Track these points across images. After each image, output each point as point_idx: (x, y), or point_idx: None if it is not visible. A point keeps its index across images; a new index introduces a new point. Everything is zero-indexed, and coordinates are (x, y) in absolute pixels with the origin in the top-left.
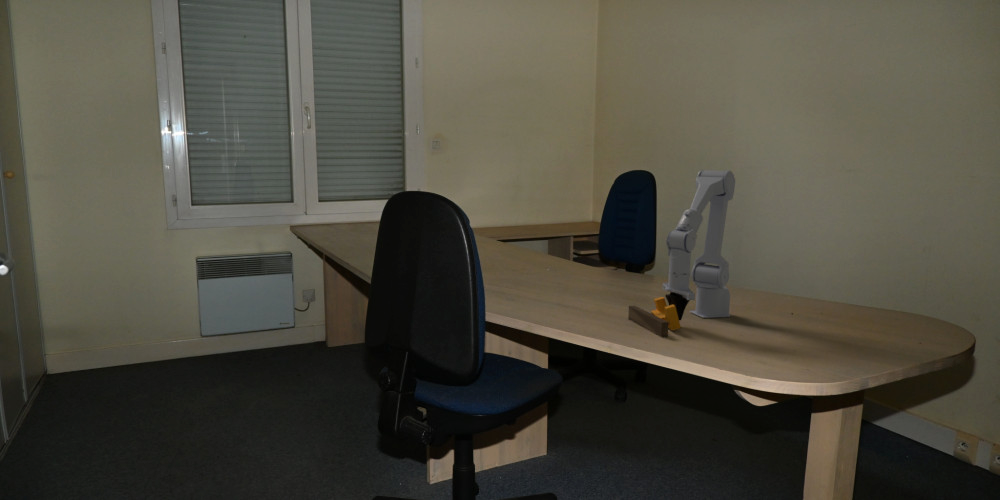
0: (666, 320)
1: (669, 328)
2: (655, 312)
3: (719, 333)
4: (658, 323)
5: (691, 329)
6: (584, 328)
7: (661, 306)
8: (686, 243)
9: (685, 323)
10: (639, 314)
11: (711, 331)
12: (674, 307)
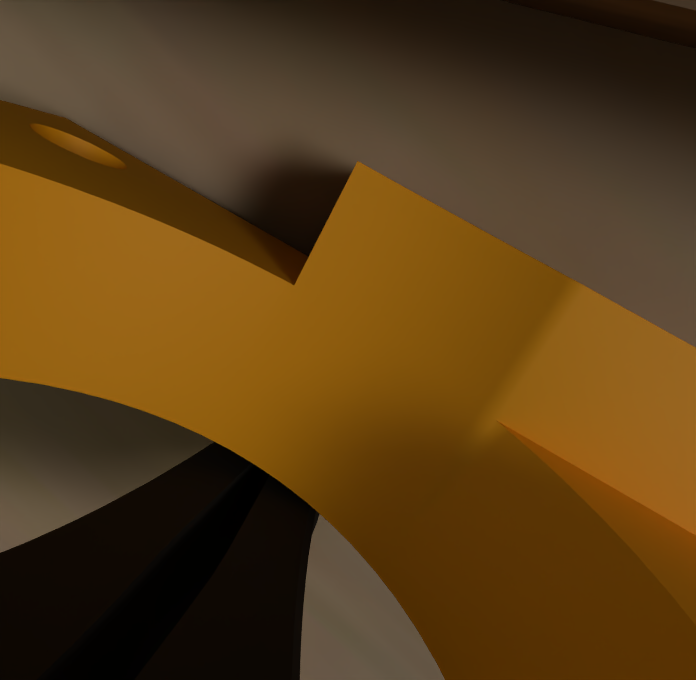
0: (158, 201)
1: (164, 174)
2: (634, 389)
3: (8, 499)
4: None
5: (161, 434)
6: None
7: (546, 609)
8: None
9: (382, 583)
10: None
11: (68, 506)
12: None
